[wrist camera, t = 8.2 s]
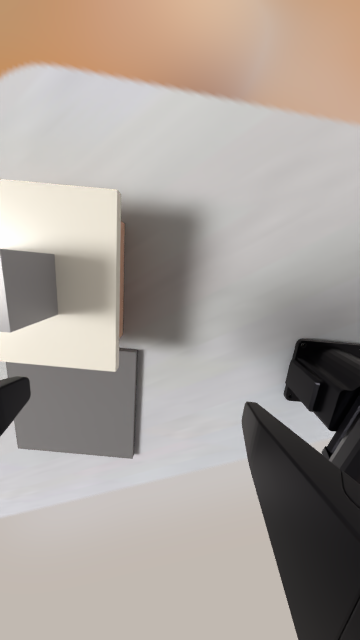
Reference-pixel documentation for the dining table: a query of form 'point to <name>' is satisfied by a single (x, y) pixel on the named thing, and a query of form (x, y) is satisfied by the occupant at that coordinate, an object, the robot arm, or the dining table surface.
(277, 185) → the dining table surface
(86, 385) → the mat
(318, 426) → the dining table surface
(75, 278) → the lid
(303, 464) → the robot arm
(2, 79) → the dining table surface
